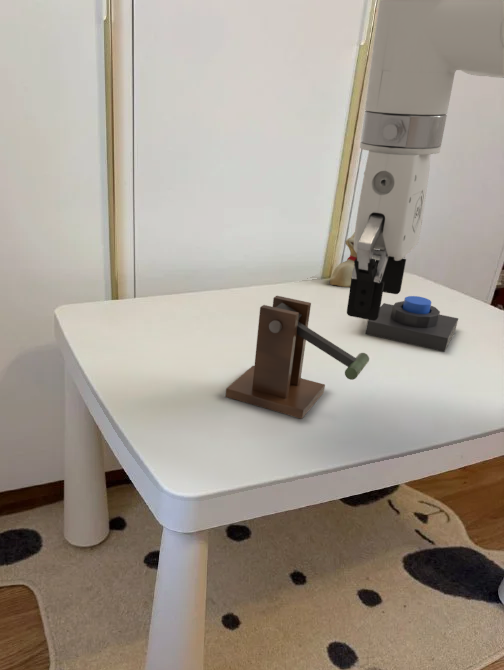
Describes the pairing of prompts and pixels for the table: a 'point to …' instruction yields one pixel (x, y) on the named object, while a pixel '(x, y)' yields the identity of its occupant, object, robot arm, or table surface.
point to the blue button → (417, 305)
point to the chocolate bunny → (345, 267)
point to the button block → (413, 326)
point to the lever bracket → (279, 363)
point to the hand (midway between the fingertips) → (374, 303)
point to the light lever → (331, 348)
